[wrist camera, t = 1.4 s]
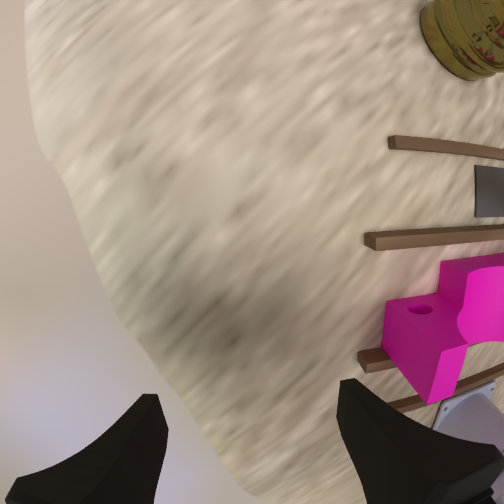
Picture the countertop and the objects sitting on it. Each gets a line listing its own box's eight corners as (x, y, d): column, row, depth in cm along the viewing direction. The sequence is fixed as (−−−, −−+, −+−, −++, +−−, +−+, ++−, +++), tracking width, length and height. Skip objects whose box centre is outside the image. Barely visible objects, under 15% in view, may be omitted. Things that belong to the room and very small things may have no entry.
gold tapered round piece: (401, 22, 16) (479, -39, 6) (442, -7, 15) (509, -53, 5) (464, 98, 17) (560, 76, 7) (495, 59, 16) (574, 36, 6)
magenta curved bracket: (517, 250, 20) (574, 272, 13) (506, 313, 22) (556, 345, 14) (387, 266, 20) (450, 307, 13) (380, 345, 21) (426, 404, 14)
